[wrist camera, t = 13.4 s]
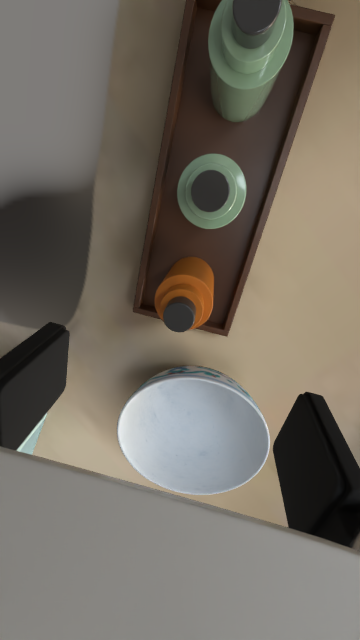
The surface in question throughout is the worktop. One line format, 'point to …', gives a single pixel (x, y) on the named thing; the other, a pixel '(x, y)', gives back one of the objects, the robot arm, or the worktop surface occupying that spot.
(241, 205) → the green bottle
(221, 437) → the chinaware
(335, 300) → the worktop surface
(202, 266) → the amber bottle
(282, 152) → the tray
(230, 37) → the green bottle
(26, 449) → the l-shaped corner panel
